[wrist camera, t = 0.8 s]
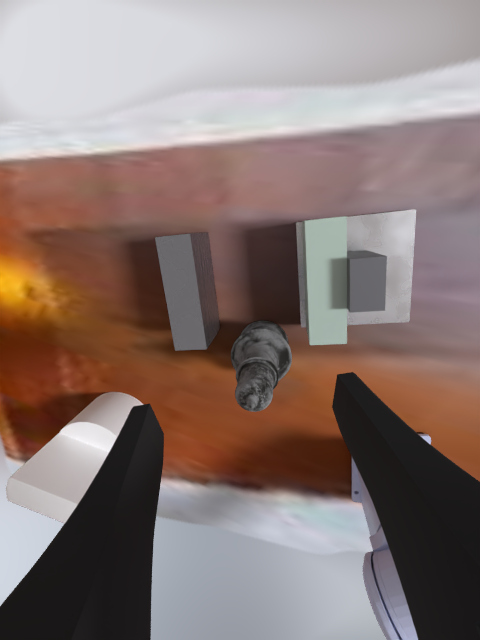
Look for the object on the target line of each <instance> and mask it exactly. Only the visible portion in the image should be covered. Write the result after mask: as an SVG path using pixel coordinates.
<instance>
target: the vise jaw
mask: <svg viewBox="0 0 480 640" xmlns="http://www.w3.org/2000/svg"><path fill="white" fill-rule="evenodd" d="M302 236H303V260H304V283H305V307H306V328H307V334H308V339H309V344H310V345H326V344H347V309H348V311H349V312H350V313H353V312H370V311H385V299H386V271H387V256H385V255H381V254H378V253H374V252H371V251H367V250H364V251H353V252H347V216H344V217H335V218H326V219H317V220H308V221H303V222H302Z"/></svg>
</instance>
